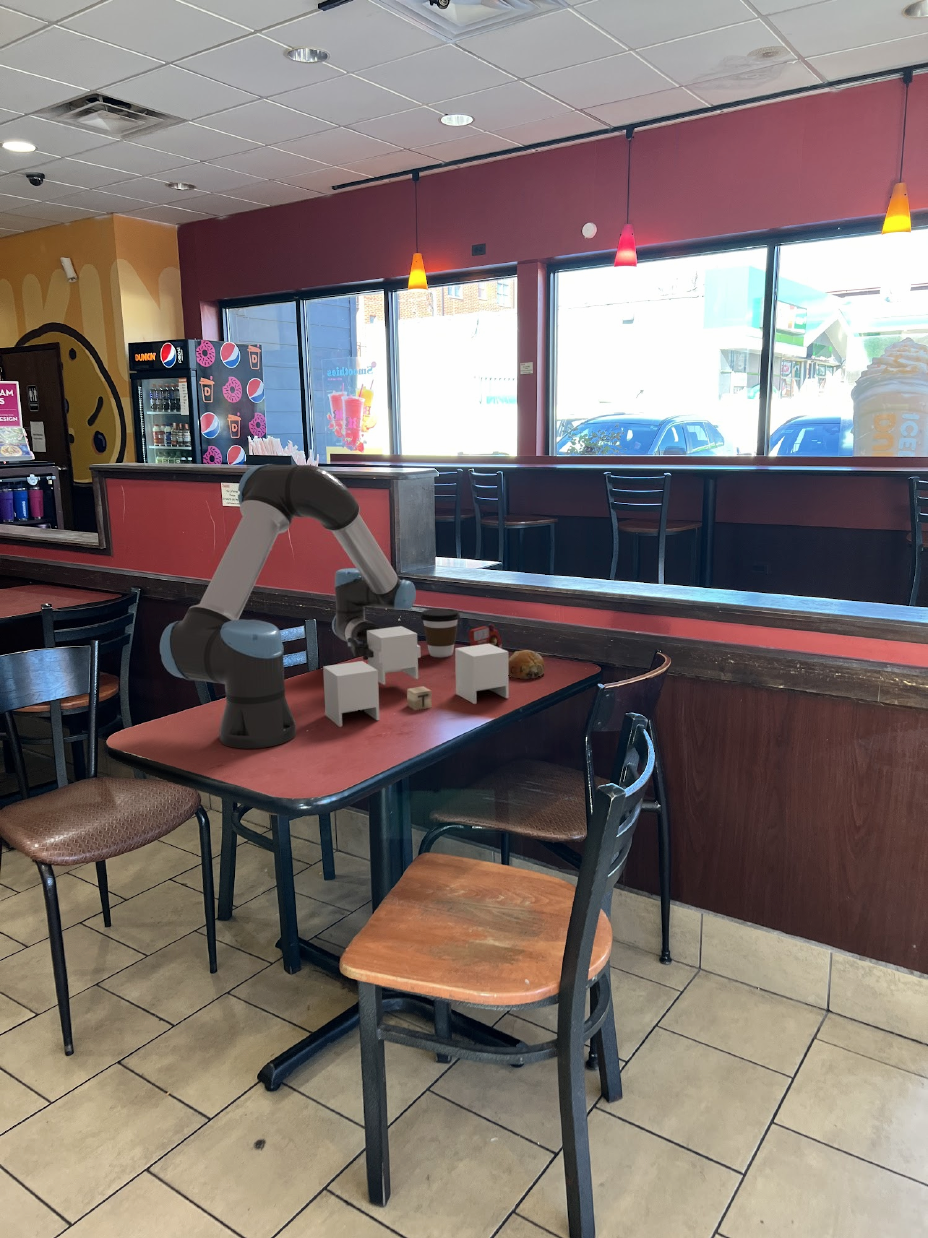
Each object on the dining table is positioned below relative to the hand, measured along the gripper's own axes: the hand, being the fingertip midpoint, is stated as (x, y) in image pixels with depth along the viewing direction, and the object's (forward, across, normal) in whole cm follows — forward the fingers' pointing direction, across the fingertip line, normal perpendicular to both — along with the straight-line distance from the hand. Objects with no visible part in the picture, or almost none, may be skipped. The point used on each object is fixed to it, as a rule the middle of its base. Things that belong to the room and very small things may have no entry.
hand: (400, 654), depth 206 cm
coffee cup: (-29, -25, -10) cm, 40 cm away
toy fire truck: (-14, -31, -10) cm, 35 cm away
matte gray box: (+11, -16, -10) cm, 21 cm away
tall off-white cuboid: (-5, 0, -6) cm, 8 cm away
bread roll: (0, -34, -10) cm, 36 cm away
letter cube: (+11, 0, -10) cm, 14 cm away
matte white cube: (+11, +16, -10) cm, 22 cm away
